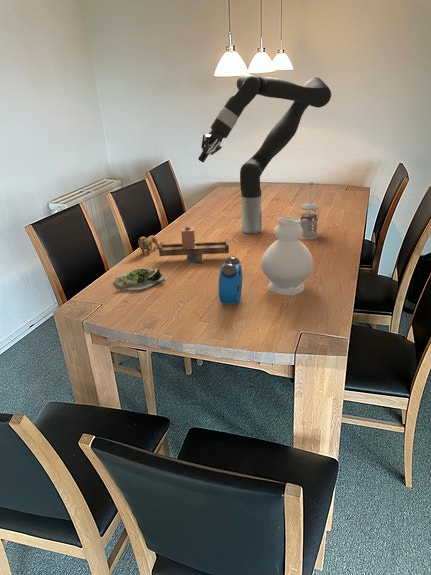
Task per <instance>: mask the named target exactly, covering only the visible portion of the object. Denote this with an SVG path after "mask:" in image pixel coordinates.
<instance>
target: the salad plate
mask: <svg viewBox="0 0 431 575" xmlns="http://www.w3.org/2000/svg"><path fill="white" fill-rule="evenodd" d="M165 281H167V279H165V275H164V274H163V273H161V271H160V269H159V268H158V267H157V268H156V267H155V268H153V269H152V268H148V267H144V268H143V267H142V268H136V269H132V270H131V271H129V272H125V273H122V274H120V275H118V276H116V277H115V278H114V280H113V283H114V284H115V285H116V287H115V290H118V291H120V290H124V291H132V292H134V291H136V292H137V291H138V292H139V291H144V290H146V289H147V290H148V289H149V288H153V287H155V286H158V285H160V284H162V283H164V282H165ZM124 282H125V283H124Z"/></svg>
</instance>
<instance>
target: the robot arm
mask: <svg viewBox="0 0 431 575" xmlns="http://www.w3.org/2000/svg"><path fill="white" fill-rule="evenodd" d="M236 88H237V90H238V91H237V92H236V93H234V94H233V95H232V94H231V96H230V97H229V98H228V99H227V101H226V103H225V104H224V106H223V108H222V109H221V110H220V111H219V113H218V115H217V116H216V117H215V119H214V121H213V123H212V124H211V126H210V129H211V130H210V131H209V133H208V134H205V133H204V134H203V135H202V140H201V149H202V152H201V153H200V155H199V157H198V159H197V160H198V161H199V162H200V163H205V161H206V160H207V158H208V156H213V155H215V154H216V153H217V152H218V151H220V150H221V149H222V146H221V143H222V142H223V139H227V138H228V136H229V135H230V133H231V132H232V130H233V128H234V127H235V125H236V124H237V122H238V119H239V118H240V116H242V113H243V111H244V109H245V108H246V107H247V106H248V105H249V104H250V103H251V102H252V101H253V100H254V99H255V97H256V96H258V95H259V96H263V97H265V98H271V99H273V98H274V99H282V100H288V101H292V102H291V105H290V106H289V108H288V109H287V110H286V111H285V112H284V113H283V115H282V116H281V118H280V119H279V120H278V121H277V122H276V123H275V125H274V126H273V127H272V129H271V130H270V131H269V133H268V134H267V136H266V138H265V139H264V141H263V143H262V144H261V145H260V147H259V148H258V150H257V151H256V152H255V153H254V154H253V155H252V156H251V157H250V158H249V159H248V160H247V161H245V162H244V164H242V165H241V167H240V170H239V180H240V183H239V184H240V185H239V186H240V188H239V189H240V192H241V231H242V232H243V233H245V234H257V233H262V227H263V224H262V223H263V222H262V221H263V220H262V218H263V216H262V189H261V176H262V175H263V172H264V170H265V169H266V168H267V166H268V164H269V163H270V162H271V161H272V160H273V158H275V157H276V155H278V154H279V153H280V152H281V151H282V150H283V149H284V148H285V147H286V146H287V145H288V144H289V142H290V141H291V140H292V139H293V138H294V137H295V135H296V133H297V131H298V128H299V126H300V125H299V124H300V123H301V119H302V117H303V115H304V113H305V111H306V110H307V109H308V107H309V106H311V107H313V108H318V109H319V108H322V107H325V106H327V104H328V103H329V102H330V100H331V99H332V91H331V88H330V87H329V86H328V85H327V84H326V83H325V82H324V81H323V80H322V79H321V78H320V77H317V76H316V77H315V76H314V77H312V78H310V79H309V80H308V81H307V82H305V83H304V85H299V84H296V83H294V82H292V81H288V80H286V79H282V78H278V77H269V76H267V77H265V76H258V75H255V74H249V73H244V74H242V75H240V76H239V77H238V79H237V80H236Z"/></svg>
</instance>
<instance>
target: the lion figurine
mask: <svg viewBox="0 0 431 575" xmlns="http://www.w3.org/2000/svg"><path fill="white" fill-rule="evenodd" d="M137 242H138V243H137V244H138V248H140V250H141V256H144V255H145V250H146V252H147V253H146V254H147V255H146V256H150V255H151V253H150V251H151V250H152V248H153V244H154V245H155V247H156V249H157V250H159V245H160V242H158V239H157V237H156V236H155V235H153V234H152V235H149V236H148V237H145V236H140V237H139V238H138V241H137Z"/></svg>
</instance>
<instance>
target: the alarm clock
mask: <svg viewBox="0 0 431 575" xmlns="http://www.w3.org/2000/svg"><path fill="white" fill-rule="evenodd" d="M242 290H243V269H242V265H241V261H240V259H239V258H238V257H236V256H233V255H232V256H229V257H227V258H226V259H225V261H224V263H222V265H221V267H220V270H219V274H218V299H219V302H220V304H222V307H225V304H229V305H239V304H240V301H241V298H242Z"/></svg>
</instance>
